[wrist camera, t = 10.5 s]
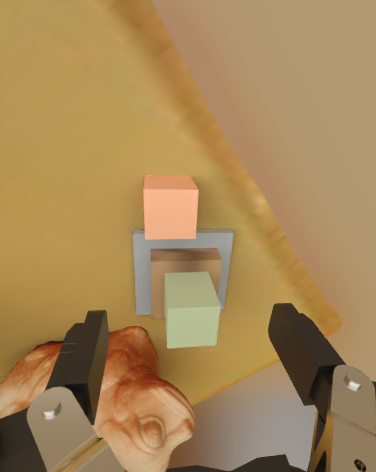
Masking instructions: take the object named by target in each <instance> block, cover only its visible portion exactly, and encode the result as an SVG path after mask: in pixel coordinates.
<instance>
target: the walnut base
mask: <svg viewBox="0 0 376 472" xmlns="http://www.w3.org/2000/svg"><path fill="white" fill-rule="evenodd" d="M221 265H222V259H221V257H220V255H219V253H218V251H217V248H174V249H151V319H154V318H165V310H164V294H165V273H182V272H209V275H210V278H211V280H212V283H213V286H214V289H215V291H216V294H217V297H218V291H219V282H220V274H221Z"/></svg>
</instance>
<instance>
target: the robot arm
mask: <svg viewBox="0 0 376 472" xmlns="http://www.w3.org/2000/svg"><path fill="white" fill-rule="evenodd" d="M268 333H269V338H270V341H271V343H272V345H273V346H274V348H275V350H276V352H277V354H278V356H279V358H280V360H281V362H282V364H283V366H284V368H285V369H286V371H287V373H288V375H289V377H290V379H291V380H292V383H293V385H294V387H295V389H296V391H297V393H298V394H299V396H300V398H301V400H302V402H303V404H304V405H315V406H316V408H317V413H316V418H315V425H314V433H313V440H312V448H311V455H310V461H309V465H308V469H307V472H376V382H373V381H371V380H370V379H369V377H368V376H366V375H365V374H364V373H363V372H362V371H360V370H358V369H357V368H354V367H352V366H348V365H346V364H345V362H344V361H343V360H342V359H341V357H340V356H339V355H338V353H337V352H336V351H335V349H333V347H332V346H331V344H330V343H329V342H328V340H327V339H326V338H324V335H323V334H322V333H321V331H319V329H318V327H317V326H316V325H315V324H314V322H313V321H312V320H311V319H309V318H308V317H307V316H305V315H304V314H303V313H299V312H298V311H297V310H296V308H295V307H294V306H293V304H291V303H278V304H274V306H273V310H272V314H271V318H270V323H269V327H268ZM108 346H109V332H108V322H107V312H106V310H97V311H88V313H87V316H86V319H85V323H75V324H74V325H73V327H72V328H71V329H70V330H69V331H68V332H67V334H66V336H65V339H64V342H63V345H62V347H61V349H60V354H59V355H58V357H57V360H56V362H55V365H54V368H53V370H52V373H51V376H50V378H49V381H48V383H47V386H46V388H45V390H44V392H42V393H41V394H40V395H38V396H37V397H36V398H35V399H34V400H33V402H32V403H31V405H30V406H29V407H27V408H25V409H23V410H21V411H19V412H16V413H14V414H11V415H8V416H6V417H3V418H0V472H125V471H124V469H123V468H122V466H121V465H120V463H119V461H118V460H117V458H116V456H115V455H114V453H113V451H112V450H111V448H110V446H109V445H108V443H107V442H106V441H105V439H104V438H102V437H101V438H99V437H98V435H97V434H96V432H95V430H94V429H93V427H92V425H94V424H95V419H96V413H97V408H98V402H99V397H100V391H101V386H102V380H103V375H104V369H105V364H106V359H107V353H108ZM166 472H306V471H304V470H302V469H300V468H297V467H294V466H291V465H289V463H288V460H287V457H286V455H285V454H284V455H276V456H268V457H260V458H256V459H254V460H252V461H250V462H248V463H246V464H244V465H242V466H240V467H238V468H237V469H234V470H232V471H224V470H219V469H214V468H208V467H203V466H198V465H195V466H187V467H179V468H171V469H166Z"/></svg>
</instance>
